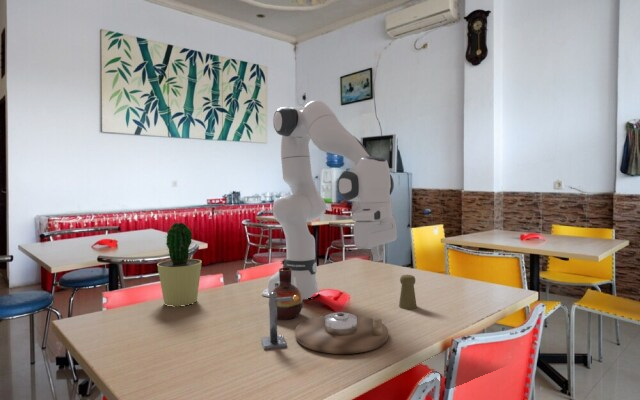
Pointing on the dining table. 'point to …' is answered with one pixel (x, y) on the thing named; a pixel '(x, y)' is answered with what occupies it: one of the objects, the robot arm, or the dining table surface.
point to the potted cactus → (179, 268)
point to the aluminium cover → (340, 324)
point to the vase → (287, 290)
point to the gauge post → (275, 323)
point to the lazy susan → (363, 340)
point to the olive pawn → (407, 292)
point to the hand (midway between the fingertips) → (378, 260)
